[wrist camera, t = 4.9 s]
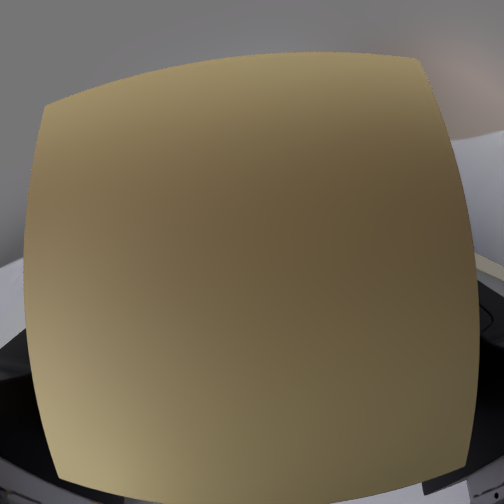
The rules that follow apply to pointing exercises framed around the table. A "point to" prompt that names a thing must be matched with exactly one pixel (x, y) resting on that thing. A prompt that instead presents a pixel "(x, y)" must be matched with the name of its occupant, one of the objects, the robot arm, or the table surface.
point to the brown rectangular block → (252, 282)
